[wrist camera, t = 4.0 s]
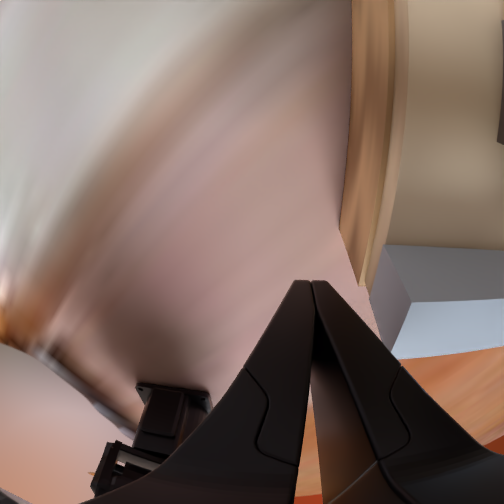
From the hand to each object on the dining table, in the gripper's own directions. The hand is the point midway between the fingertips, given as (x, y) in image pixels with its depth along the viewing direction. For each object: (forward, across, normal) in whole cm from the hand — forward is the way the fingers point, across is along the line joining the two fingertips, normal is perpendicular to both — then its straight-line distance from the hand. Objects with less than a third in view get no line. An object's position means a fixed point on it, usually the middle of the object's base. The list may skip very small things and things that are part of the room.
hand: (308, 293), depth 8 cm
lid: (+2, -7, -4) cm, 9 cm away
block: (+1, -10, 0) cm, 10 cm away
